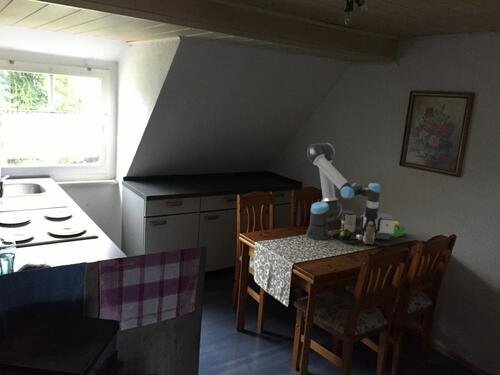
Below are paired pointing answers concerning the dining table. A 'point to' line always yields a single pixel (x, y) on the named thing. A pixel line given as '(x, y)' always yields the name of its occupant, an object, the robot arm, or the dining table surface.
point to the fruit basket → (398, 230)
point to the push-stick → (369, 234)
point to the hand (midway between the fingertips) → (368, 241)
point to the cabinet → (383, 225)
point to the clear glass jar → (348, 220)
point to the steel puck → (359, 237)
